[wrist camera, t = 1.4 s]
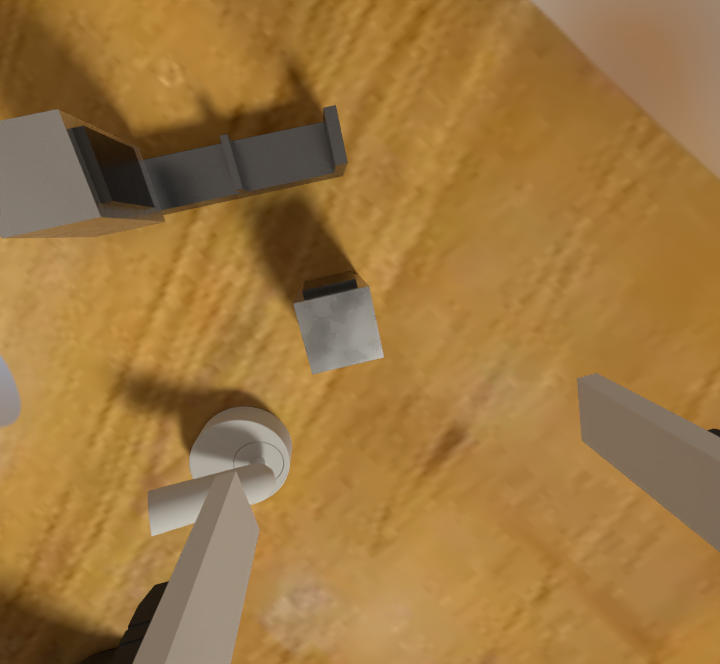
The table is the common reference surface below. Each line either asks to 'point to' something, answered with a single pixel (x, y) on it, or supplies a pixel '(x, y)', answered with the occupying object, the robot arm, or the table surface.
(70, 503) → the table surface
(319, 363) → the light grey block
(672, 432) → the robot arm
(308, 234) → the table surface
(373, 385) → the table surface
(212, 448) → the wall hook
